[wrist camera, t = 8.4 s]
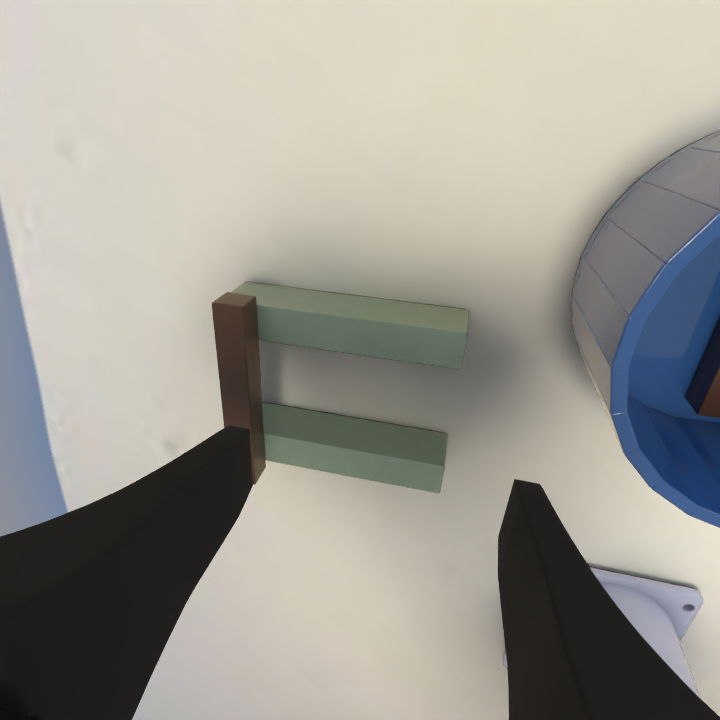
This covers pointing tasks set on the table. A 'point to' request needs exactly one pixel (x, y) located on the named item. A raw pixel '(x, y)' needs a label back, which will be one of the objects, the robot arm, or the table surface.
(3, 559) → the robot arm
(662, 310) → the blue round bowl
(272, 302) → the miniature wooden rack
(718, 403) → the chopstick
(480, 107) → the table surface
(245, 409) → the chopstick
